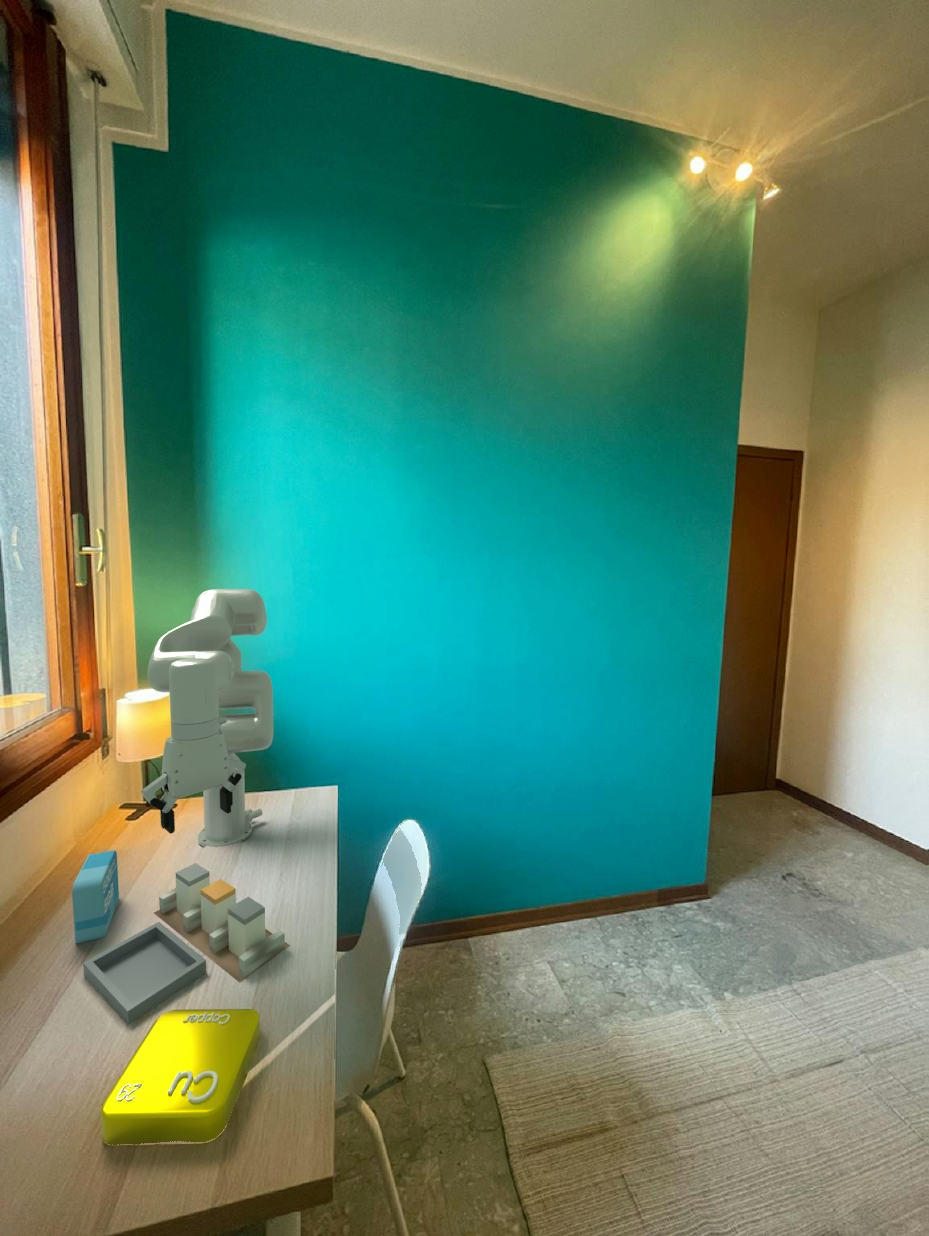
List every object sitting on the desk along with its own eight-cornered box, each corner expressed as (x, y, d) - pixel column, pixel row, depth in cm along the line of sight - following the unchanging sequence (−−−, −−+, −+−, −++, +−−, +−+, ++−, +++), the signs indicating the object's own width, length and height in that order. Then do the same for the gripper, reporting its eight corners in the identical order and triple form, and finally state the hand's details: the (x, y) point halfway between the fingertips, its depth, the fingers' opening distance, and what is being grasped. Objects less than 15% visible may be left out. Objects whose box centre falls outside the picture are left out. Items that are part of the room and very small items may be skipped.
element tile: (264, 1033, 76) (264, 1004, 76) (220, 1147, 61) (219, 1112, 61) (163, 1034, 76) (162, 1005, 75) (93, 1149, 61) (91, 1114, 60)
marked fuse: (221, 917, 99) (220, 879, 98) (236, 927, 96) (235, 888, 95) (201, 929, 96) (200, 889, 95) (216, 940, 93) (215, 900, 92)
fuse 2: (249, 936, 94) (248, 896, 93) (265, 948, 91) (264, 907, 90) (229, 950, 91) (227, 908, 90) (245, 962, 88) (244, 920, 87)
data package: (105, 942, 93) (101, 881, 92) (75, 949, 91) (71, 886, 90) (119, 901, 104) (116, 846, 103) (93, 907, 102) (89, 851, 101)
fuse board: (203, 890, 108) (202, 873, 108) (290, 949, 92) (289, 930, 92) (153, 916, 100) (153, 898, 99) (239, 986, 84) (239, 965, 84)
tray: (159, 936, 95) (158, 921, 94) (206, 976, 86) (206, 960, 86) (84, 979, 85) (83, 963, 84) (128, 1029, 76) (127, 1011, 76)
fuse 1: (196, 899, 104) (195, 863, 103) (210, 909, 101) (209, 871, 100) (177, 910, 101) (175, 872, 100) (190, 920, 98) (189, 882, 97)
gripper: (234, 713, 98) (236, 797, 100) (132, 735, 85) (136, 831, 87) (253, 722, 93) (254, 810, 95) (147, 746, 80) (152, 847, 82)
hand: (198, 820), depth 91 cm, fingers open, 9 cm apart
